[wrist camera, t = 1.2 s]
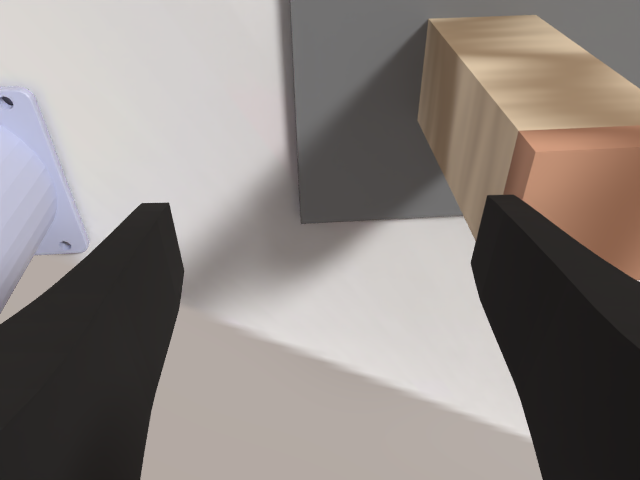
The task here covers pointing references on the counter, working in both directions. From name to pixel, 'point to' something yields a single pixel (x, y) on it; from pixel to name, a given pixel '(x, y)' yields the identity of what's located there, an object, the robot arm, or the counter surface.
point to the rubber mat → (403, 95)
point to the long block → (535, 128)
